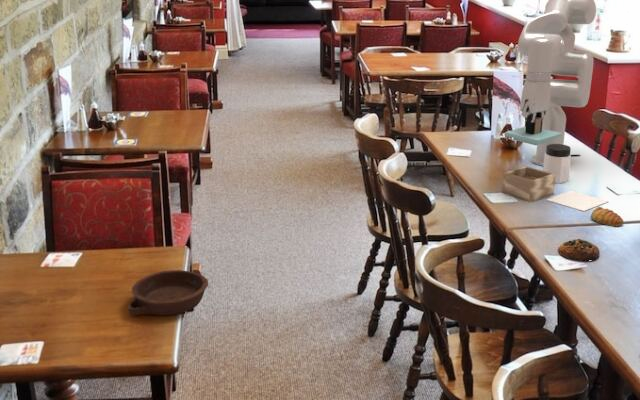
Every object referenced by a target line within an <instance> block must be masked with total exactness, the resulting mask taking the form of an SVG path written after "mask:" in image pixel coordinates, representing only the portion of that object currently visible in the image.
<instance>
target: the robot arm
mask: <svg viewBox="0 0 640 400" xmlns="http://www.w3.org/2000/svg"><path fill="white" fill-rule="evenodd" d="M596 15H597V6H596V2H595V0H548V1H547V2H546V4H545V9H544V11H543V13H542V14H541V15H539V16H537V17H535V18H533V19H531V20H529V21H528V22H527V23H526V24H524V26H523V28H522V31H521V33H520V36H519V37H518V42H517V49H518V52H519V54H521V56H524V57H527V63H526V76H525V81H524V83H523V87H522V92H521V99H520V106H519V108H520V109H519V110H520V112H521V117H523V118H524V119H525V120H524V121H525V127H526V131H525V132H526V133H528V134H532V135H533V134H535V122H534V121H535V117H539V118H541V128H540V132H542V129H546V130H550V131H554V132H559V133H562V136H561V137H558V138H555V139H552V141H549V142H546V143H542V144H539V145H536V152H535V155H534V156H532V157H531V159H530V161H531V163H533V164H535V165H538V166H542V167H543V166H544V156H545V153H546V147H547V145H550V144H562V145H565V144H564V143H565V132H566V124H567V116H566V113H565V111H564V110H563V108H562V107H570V108H571V107H572V108H584V107H586V105H588V102H589V99H590V94H591V87H592V86H591V85H592V78H593V70H594V55H593V54H592V52H590V51H588V50H582V49H581V50H580V49H575V42H576V35H575V31H573V29H572V27H571V26H570V24H571V25H591V24H592V23H593V22H594V20H595V17H596ZM552 75H554V76H561V77H563V76H564V77H572V78H573V77H575V78H577V79H578V80H574V79H573V80H571V79H563V78H562V79H561V78H551V77H552Z"/></svg>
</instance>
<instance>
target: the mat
mask: <svg viewBox="0 0 640 400" xmlns="http://www.w3.org/2000/svg"><path fill="white" fill-rule="evenodd" d="M545 200H546V202H551V203H554V204H556V205H560V206H563V207H567V208H570V209H573V210H577V211H579V212H584V213H585V212H587V211H590V210H593V209H596V208H597V207H601V206H602V205H604V204H607V203H609V201H608V200H605V199H601V198H598V197H594V196H592V195H588V194H584V193H582V192H581V193H580V192H578V191H577V192H576V191H573V190H569V191H566V192H563V193H561V194H557V195H554V196H552V197H549V198H547V199H545Z"/></svg>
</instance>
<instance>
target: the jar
mask: <svg viewBox="0 0 640 400" xmlns="http://www.w3.org/2000/svg"><path fill="white" fill-rule="evenodd" d="M571 151H572V150H571V146H569V145H567V144H563V145H562V144H550V145H547V147H546V153H545V156H544V166H542V167H543V169H542V171H545V172H549V173H552V174H556V175H555V184H562V183H563V184H564V183H566V182H569V178H570V168H571V159H572V156H571Z"/></svg>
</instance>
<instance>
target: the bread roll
mask: <svg viewBox="0 0 640 400" xmlns="http://www.w3.org/2000/svg"><path fill="white" fill-rule="evenodd" d="M557 251H558V253H559V254H560V255H561V256H562V257H563V256H564V258H567V259H569V258H570V259H569V260H572V259H576V260H582V261H581V262H585V261H586V262H588V261H589V260H594V259H598V258H599V255H600V252H601V251H600V249H599V247H598V246H597V245H596V244H595V243H592V242H591V241H588V240H585V239H581V238H580V239H579V238H577V239H572V240H567V241H565V242H562V243H561V244H560V245H559V246H558V247H557ZM597 257H598V258H597ZM576 260H575V261H576ZM594 261H595V260H594Z"/></svg>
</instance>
